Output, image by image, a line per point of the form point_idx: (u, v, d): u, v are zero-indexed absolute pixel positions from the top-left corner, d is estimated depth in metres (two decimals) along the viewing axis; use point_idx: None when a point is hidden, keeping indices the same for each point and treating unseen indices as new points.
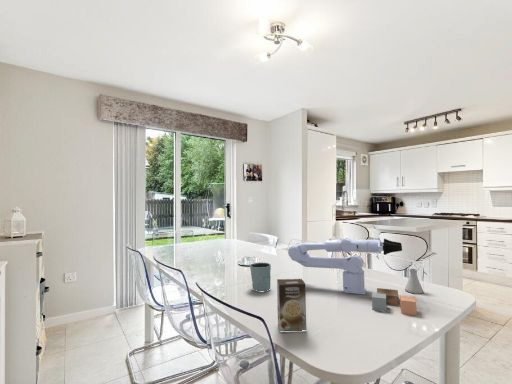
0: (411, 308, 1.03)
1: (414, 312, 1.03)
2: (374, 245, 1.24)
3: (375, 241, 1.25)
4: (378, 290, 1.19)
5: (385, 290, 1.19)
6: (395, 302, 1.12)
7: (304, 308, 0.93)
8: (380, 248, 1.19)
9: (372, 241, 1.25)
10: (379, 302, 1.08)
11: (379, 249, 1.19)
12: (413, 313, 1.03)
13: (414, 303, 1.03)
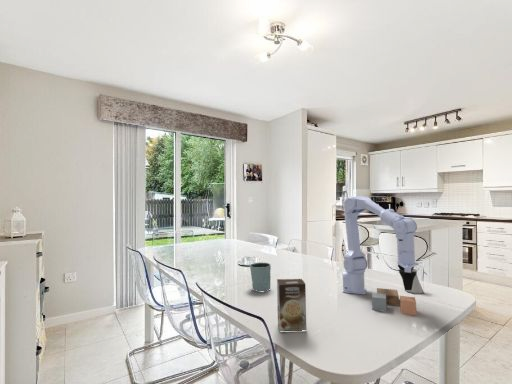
0: (411, 308, 1.03)
1: (414, 312, 1.03)
2: (408, 259, 1.04)
3: (413, 260, 1.04)
4: (378, 290, 1.19)
5: (385, 290, 1.19)
6: (395, 302, 1.12)
7: (304, 308, 0.93)
8: (408, 269, 1.00)
9: (413, 257, 1.04)
10: (379, 302, 1.08)
11: (406, 268, 1.00)
12: (413, 313, 1.03)
13: (414, 303, 1.03)
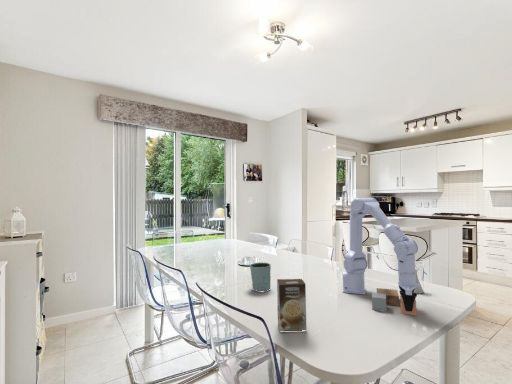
0: None
1: (414, 312, 1.03)
2: (409, 281, 1.03)
3: (414, 282, 1.04)
4: (378, 290, 1.19)
5: (385, 290, 1.19)
6: (395, 302, 1.12)
7: (304, 308, 0.93)
8: (409, 292, 1.00)
9: (414, 279, 1.04)
10: (379, 302, 1.08)
11: (407, 291, 1.00)
12: (413, 313, 1.03)
13: (414, 303, 1.03)
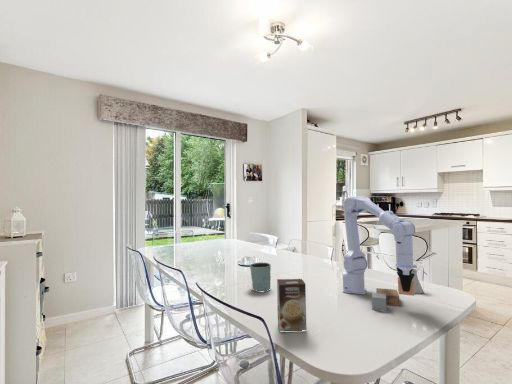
0: None
1: (411, 292, 1.04)
2: (406, 262, 1.04)
3: (411, 263, 1.05)
4: (378, 290, 1.19)
5: (385, 290, 1.19)
6: (396, 302, 1.13)
7: (304, 308, 0.93)
8: (406, 272, 1.01)
9: (411, 259, 1.05)
10: (379, 302, 1.08)
11: (405, 271, 1.01)
12: (411, 293, 1.04)
13: (411, 283, 1.04)
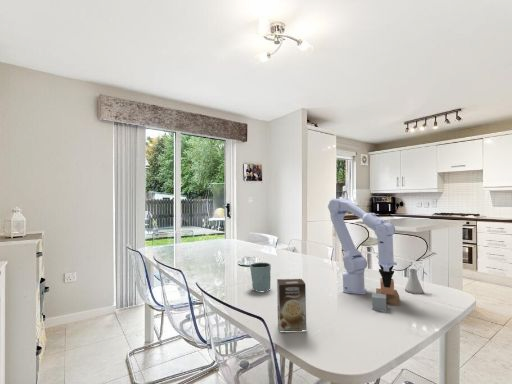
0: (389, 288, 1.15)
1: (392, 292, 1.14)
2: (387, 259, 1.15)
3: (392, 260, 1.15)
4: (378, 290, 1.19)
5: None
6: (396, 302, 1.13)
7: (304, 308, 0.93)
8: (386, 269, 1.11)
9: (392, 257, 1.15)
10: (379, 302, 1.08)
11: (385, 268, 1.11)
12: (391, 293, 1.14)
13: (392, 283, 1.14)
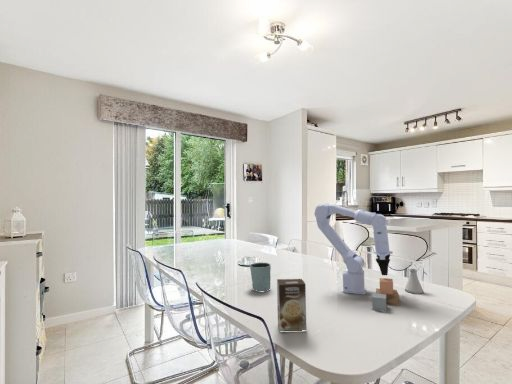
0: (389, 288, 1.15)
1: (391, 291, 1.14)
2: (383, 249, 1.21)
3: (387, 249, 1.22)
4: (378, 290, 1.19)
5: None
6: (396, 302, 1.13)
7: (304, 308, 0.93)
8: (382, 257, 1.17)
9: (387, 247, 1.22)
10: (379, 302, 1.08)
11: (381, 256, 1.18)
12: (390, 292, 1.15)
13: (391, 283, 1.14)
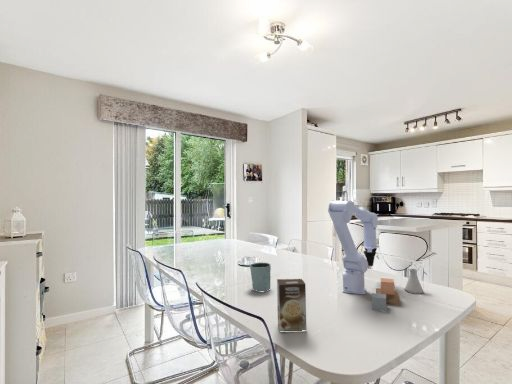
0: (390, 288, 1.15)
1: (392, 292, 1.14)
2: (371, 243, 1.37)
3: (375, 244, 1.37)
4: (378, 290, 1.19)
5: None
6: (396, 302, 1.13)
7: (304, 308, 0.93)
8: (369, 250, 1.33)
9: (374, 241, 1.37)
10: (379, 302, 1.08)
11: (368, 249, 1.33)
12: (392, 293, 1.14)
13: (392, 283, 1.14)
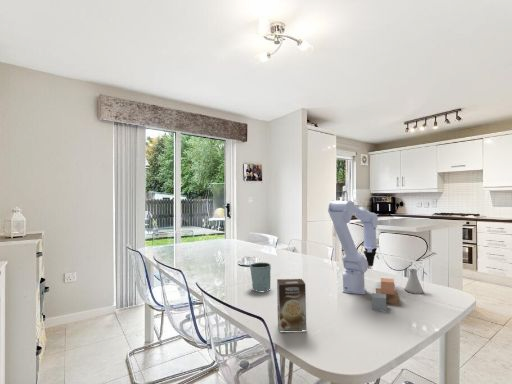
0: (390, 288, 1.15)
1: (392, 292, 1.14)
2: (371, 243, 1.37)
3: (375, 244, 1.37)
4: (378, 290, 1.19)
5: None
6: (396, 302, 1.13)
7: (304, 308, 0.93)
8: (369, 250, 1.33)
9: (374, 241, 1.37)
10: (379, 302, 1.08)
11: (368, 249, 1.33)
12: (392, 293, 1.14)
13: (392, 283, 1.14)
